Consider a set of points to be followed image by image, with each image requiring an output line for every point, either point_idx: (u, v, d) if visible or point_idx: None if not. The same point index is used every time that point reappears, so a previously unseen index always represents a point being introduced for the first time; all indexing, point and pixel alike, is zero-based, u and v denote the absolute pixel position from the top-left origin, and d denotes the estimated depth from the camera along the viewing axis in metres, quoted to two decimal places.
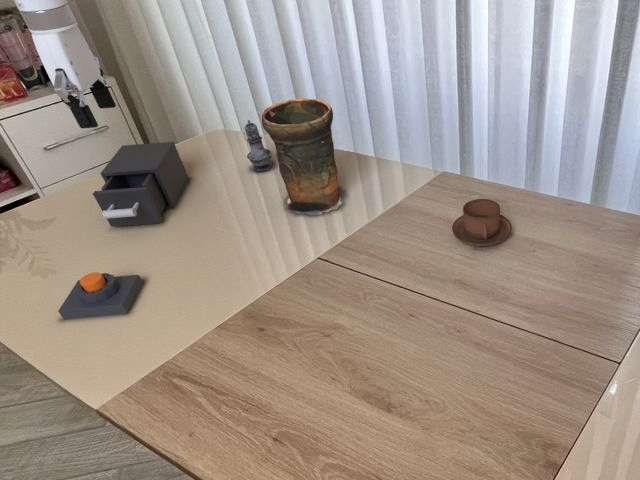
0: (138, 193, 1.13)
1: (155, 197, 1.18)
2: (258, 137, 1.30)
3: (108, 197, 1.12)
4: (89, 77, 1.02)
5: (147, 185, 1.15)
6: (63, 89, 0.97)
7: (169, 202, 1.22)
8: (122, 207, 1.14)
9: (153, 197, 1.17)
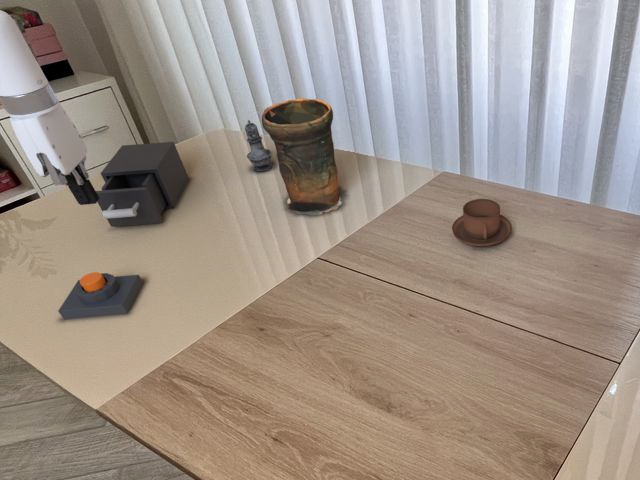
0: (138, 193, 1.13)
1: (155, 197, 1.18)
2: (258, 137, 1.30)
3: (108, 197, 1.12)
4: (74, 158, 0.95)
5: (147, 185, 1.15)
6: (62, 180, 0.93)
7: (169, 202, 1.22)
8: (122, 207, 1.14)
9: (153, 197, 1.17)
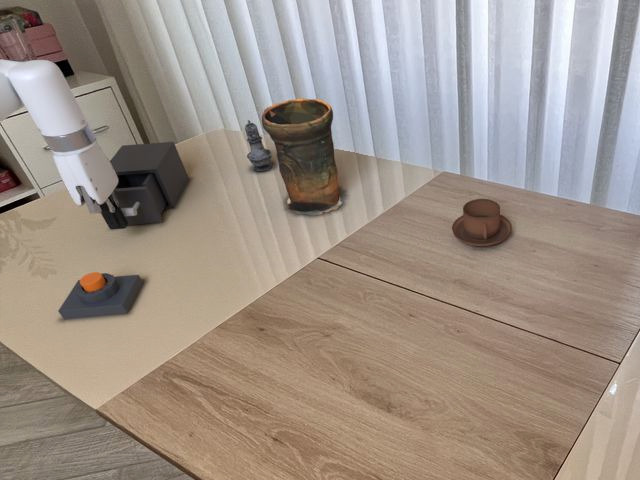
0: (139, 192, 1.13)
1: (156, 197, 1.18)
2: (258, 137, 1.30)
3: None
4: (108, 188, 1.04)
5: (147, 184, 1.15)
6: (97, 209, 1.03)
7: (169, 202, 1.22)
8: (123, 206, 1.15)
9: (154, 197, 1.17)
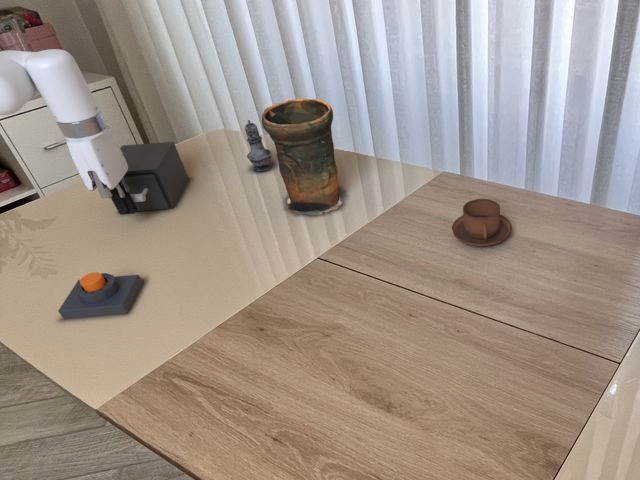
0: (147, 179, 1.17)
1: None
2: (258, 137, 1.30)
3: None
4: (118, 174, 1.08)
5: None
6: (108, 194, 1.07)
7: (169, 202, 1.22)
8: (132, 193, 1.19)
9: None
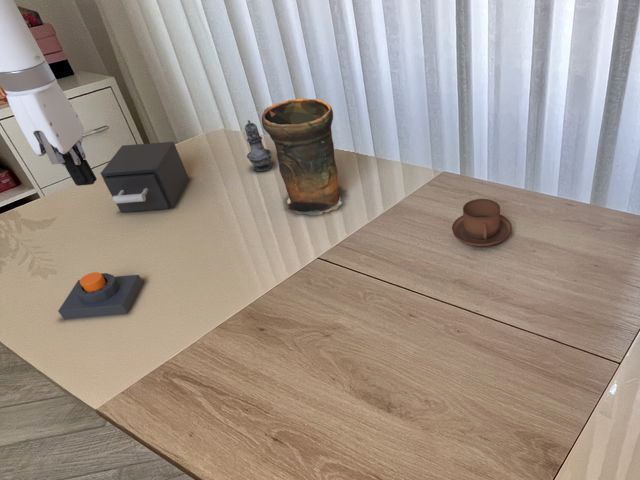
0: (147, 179, 1.17)
1: None
2: (258, 137, 1.30)
3: (118, 183, 1.17)
4: (71, 137, 0.94)
5: None
6: (59, 159, 0.93)
7: (169, 202, 1.22)
8: (132, 193, 1.19)
9: None
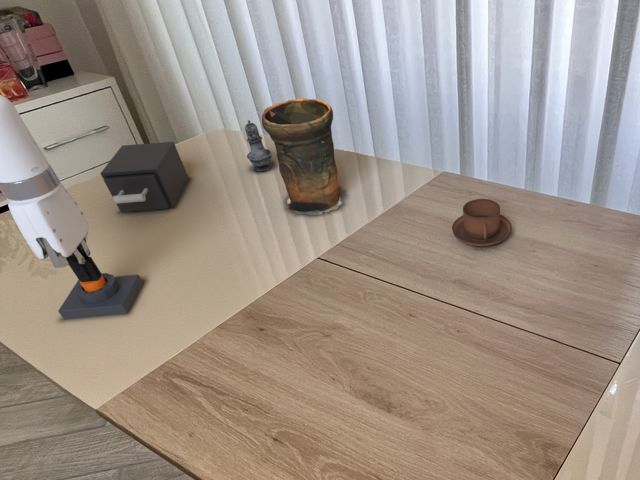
0: (147, 179, 1.17)
1: None
2: (258, 137, 1.30)
3: (118, 183, 1.17)
4: (75, 238, 0.90)
5: None
6: (63, 263, 0.89)
7: (169, 202, 1.22)
8: (132, 193, 1.19)
9: None
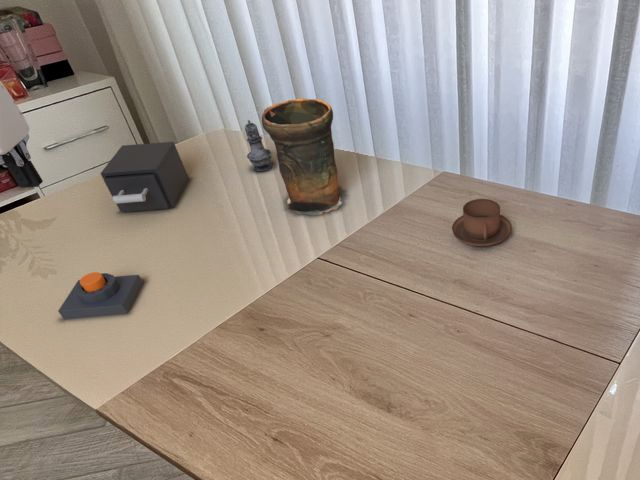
0: (147, 179, 1.17)
1: None
2: (258, 137, 1.30)
3: (118, 183, 1.17)
4: (12, 136, 0.88)
5: None
6: None
7: (169, 202, 1.22)
8: (132, 193, 1.19)
9: None
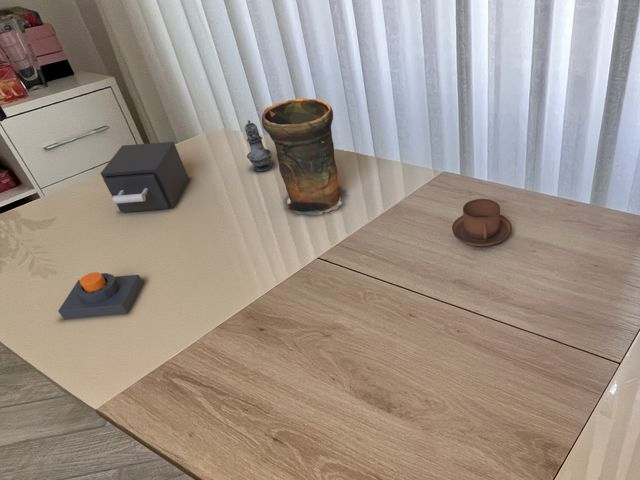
0: (147, 179, 1.17)
1: None
2: (258, 137, 1.30)
3: (118, 183, 1.17)
4: None
5: None
6: None
7: (169, 202, 1.22)
8: (132, 193, 1.19)
9: None
